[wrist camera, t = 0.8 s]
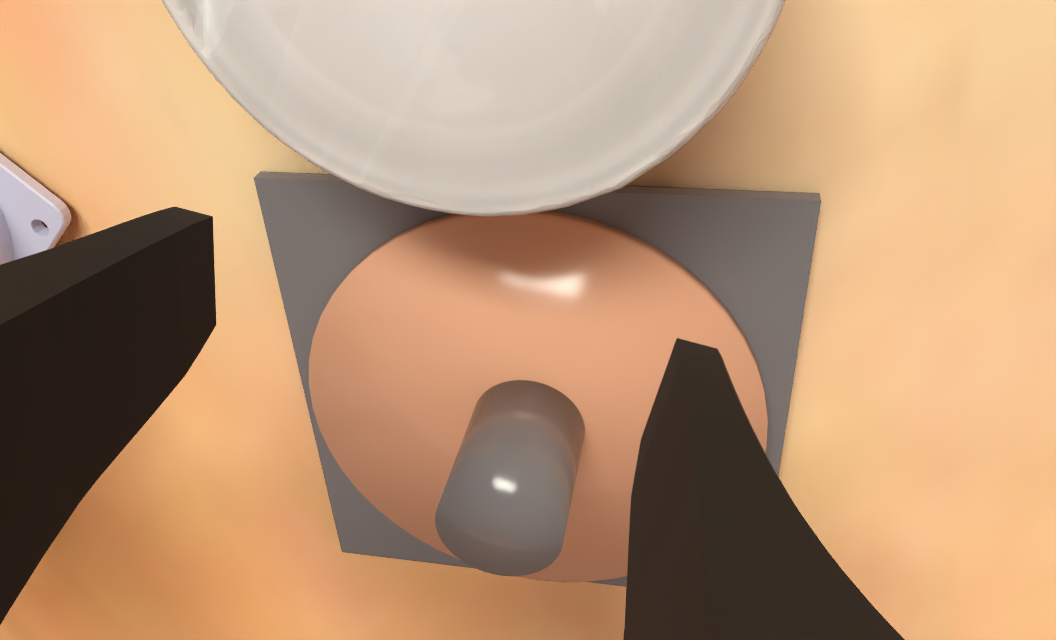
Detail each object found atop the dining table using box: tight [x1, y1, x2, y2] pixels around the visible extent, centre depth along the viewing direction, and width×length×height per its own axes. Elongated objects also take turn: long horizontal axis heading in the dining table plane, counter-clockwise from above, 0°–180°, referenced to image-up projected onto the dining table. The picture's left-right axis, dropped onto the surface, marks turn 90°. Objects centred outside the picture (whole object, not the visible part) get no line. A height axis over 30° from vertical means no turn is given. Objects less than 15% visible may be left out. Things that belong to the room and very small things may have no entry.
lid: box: [309, 210, 768, 582], centre depth 23 cm, size 13×13×5 cm
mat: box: [254, 172, 821, 587], centre depth 25 cm, size 14×14×1 cm
